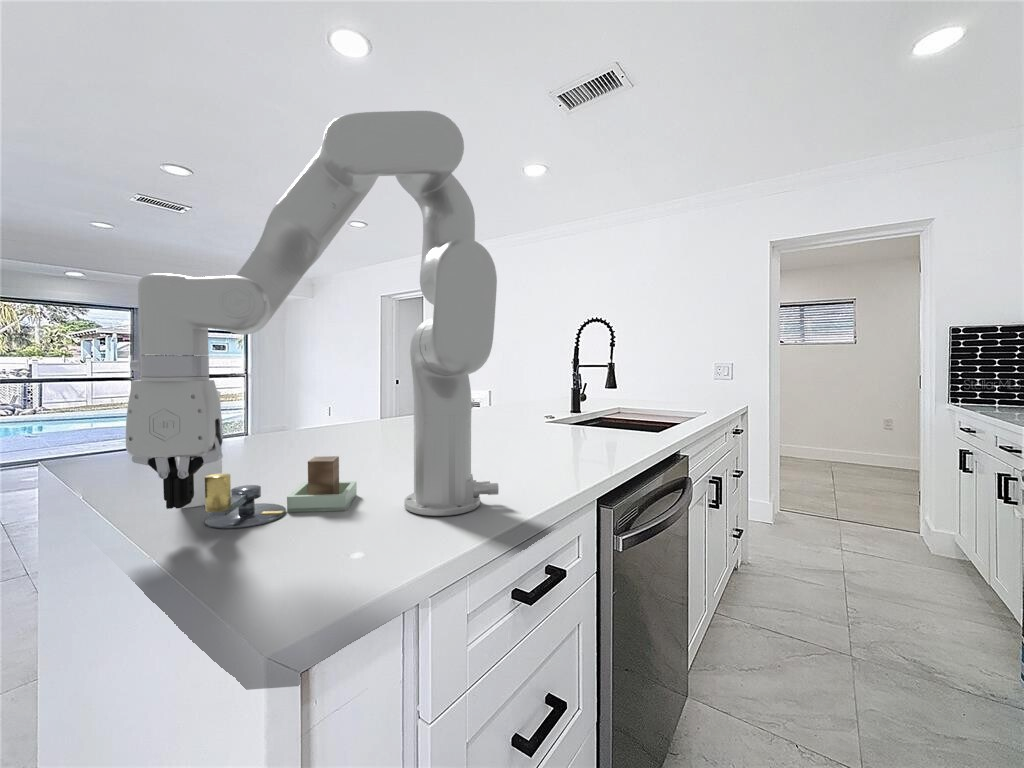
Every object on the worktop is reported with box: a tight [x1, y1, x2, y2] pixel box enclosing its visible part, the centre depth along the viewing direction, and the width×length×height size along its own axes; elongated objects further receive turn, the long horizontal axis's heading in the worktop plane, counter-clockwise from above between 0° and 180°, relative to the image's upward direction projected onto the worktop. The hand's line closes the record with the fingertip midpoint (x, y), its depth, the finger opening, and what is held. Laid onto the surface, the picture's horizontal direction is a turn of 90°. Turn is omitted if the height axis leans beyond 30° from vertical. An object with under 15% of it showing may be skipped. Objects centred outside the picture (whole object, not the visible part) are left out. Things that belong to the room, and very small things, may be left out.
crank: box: [204, 473, 262, 516], centre depth 71 cm, size 12×4×6 cm, turn 7°
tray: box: [286, 480, 358, 513], centre depth 83 cm, size 9×9×2 cm
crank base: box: [204, 499, 287, 530], centre depth 75 cm, size 11×11×3 cm
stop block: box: [307, 455, 340, 495], centre depth 82 cm, size 4×4×7 cm
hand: (179, 505), depth 66 cm, fingers closed
